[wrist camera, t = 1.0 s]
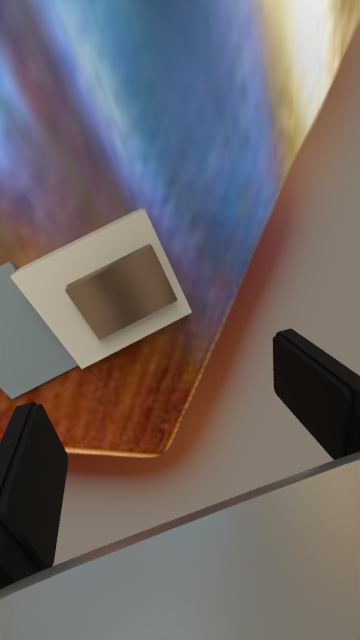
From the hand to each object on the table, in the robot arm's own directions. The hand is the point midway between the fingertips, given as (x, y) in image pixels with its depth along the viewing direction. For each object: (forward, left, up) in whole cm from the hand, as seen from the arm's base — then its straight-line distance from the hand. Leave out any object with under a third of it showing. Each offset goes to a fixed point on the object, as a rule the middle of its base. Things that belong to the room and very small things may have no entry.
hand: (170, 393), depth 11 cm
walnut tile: (+1, +1, -19) cm, 19 cm away
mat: (+15, +1, -23) cm, 28 cm away
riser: (+3, +1, -23) cm, 24 cm away
